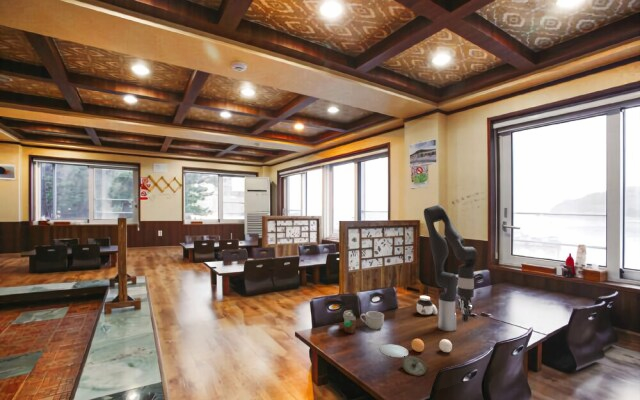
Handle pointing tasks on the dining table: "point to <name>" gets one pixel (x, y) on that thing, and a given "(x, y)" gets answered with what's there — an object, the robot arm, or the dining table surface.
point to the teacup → (373, 319)
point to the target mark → (394, 350)
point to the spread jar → (426, 306)
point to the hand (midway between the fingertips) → (464, 321)
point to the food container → (349, 321)
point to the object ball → (417, 345)
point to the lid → (413, 365)
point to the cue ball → (445, 345)
